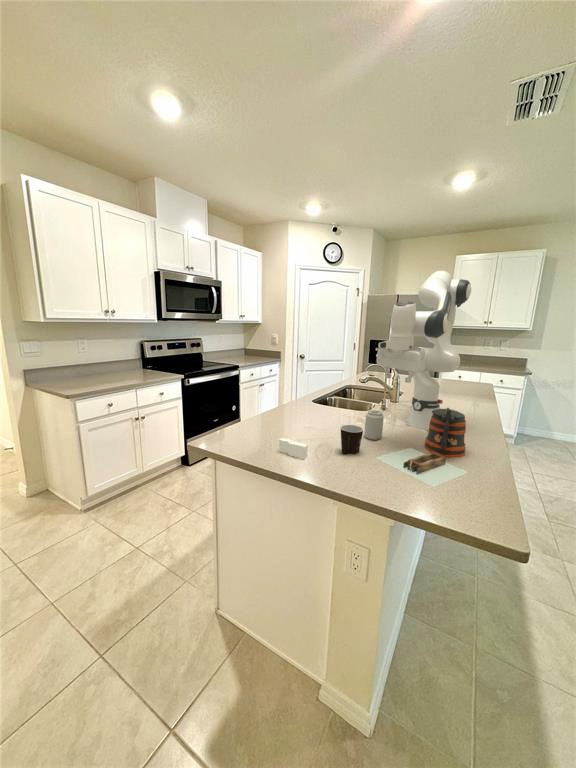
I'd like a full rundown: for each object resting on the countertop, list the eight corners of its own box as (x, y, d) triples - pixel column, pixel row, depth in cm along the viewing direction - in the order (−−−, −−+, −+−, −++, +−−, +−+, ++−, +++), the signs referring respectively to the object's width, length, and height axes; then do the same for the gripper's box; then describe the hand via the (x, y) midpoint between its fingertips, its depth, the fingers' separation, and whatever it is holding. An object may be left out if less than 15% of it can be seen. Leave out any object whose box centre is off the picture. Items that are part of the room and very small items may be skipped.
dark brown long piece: (431, 458, 114) (432, 452, 114) (445, 464, 110) (446, 457, 109) (403, 467, 106) (404, 461, 105) (416, 474, 101) (417, 467, 101)
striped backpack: (468, 468, 109) (476, 414, 106) (423, 459, 115) (429, 408, 111) (462, 449, 126) (469, 402, 123) (424, 442, 132) (429, 397, 128)
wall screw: (410, 470, 104) (411, 460, 104) (411, 470, 104) (412, 461, 103) (409, 470, 104) (410, 460, 103) (410, 471, 104) (411, 461, 103)
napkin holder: (315, 460, 113) (315, 445, 112) (287, 465, 108) (287, 450, 107) (297, 445, 126) (297, 432, 125) (271, 449, 122) (271, 435, 121)
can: (379, 435, 140) (382, 409, 137) (383, 441, 132) (385, 414, 130) (363, 434, 140) (365, 408, 138) (365, 440, 133) (367, 413, 131)
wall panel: (409, 450, 124) (410, 447, 124) (468, 475, 104) (469, 472, 104) (374, 460, 113) (374, 457, 113) (432, 490, 94) (433, 487, 94)
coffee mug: (347, 446, 125) (348, 423, 123) (365, 453, 119) (367, 428, 117) (329, 454, 117) (331, 429, 115) (348, 462, 111) (350, 435, 109)
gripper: (430, 347, 111) (426, 384, 114) (385, 342, 128) (383, 375, 131) (419, 347, 108) (415, 386, 111) (375, 343, 125) (372, 376, 128)
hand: (397, 380), depth 121 cm, fingers open, 8 cm apart
